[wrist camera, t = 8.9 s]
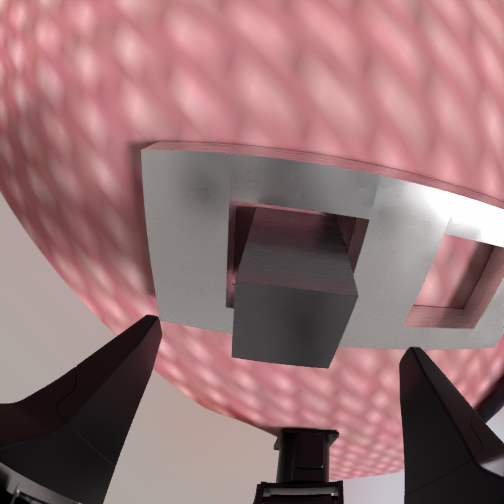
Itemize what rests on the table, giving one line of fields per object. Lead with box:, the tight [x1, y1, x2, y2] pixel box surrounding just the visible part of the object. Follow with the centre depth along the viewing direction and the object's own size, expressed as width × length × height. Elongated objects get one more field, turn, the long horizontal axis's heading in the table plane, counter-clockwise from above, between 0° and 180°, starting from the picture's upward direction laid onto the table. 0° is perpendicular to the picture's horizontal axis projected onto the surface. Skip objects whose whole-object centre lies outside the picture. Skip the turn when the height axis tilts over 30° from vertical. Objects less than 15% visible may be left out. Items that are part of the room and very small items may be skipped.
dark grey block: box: [232, 207, 359, 368], centre depth 13 cm, size 4×4×6 cm
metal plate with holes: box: [141, 141, 504, 350], centre depth 14 cm, size 10×24×2 cm, turn 86°
